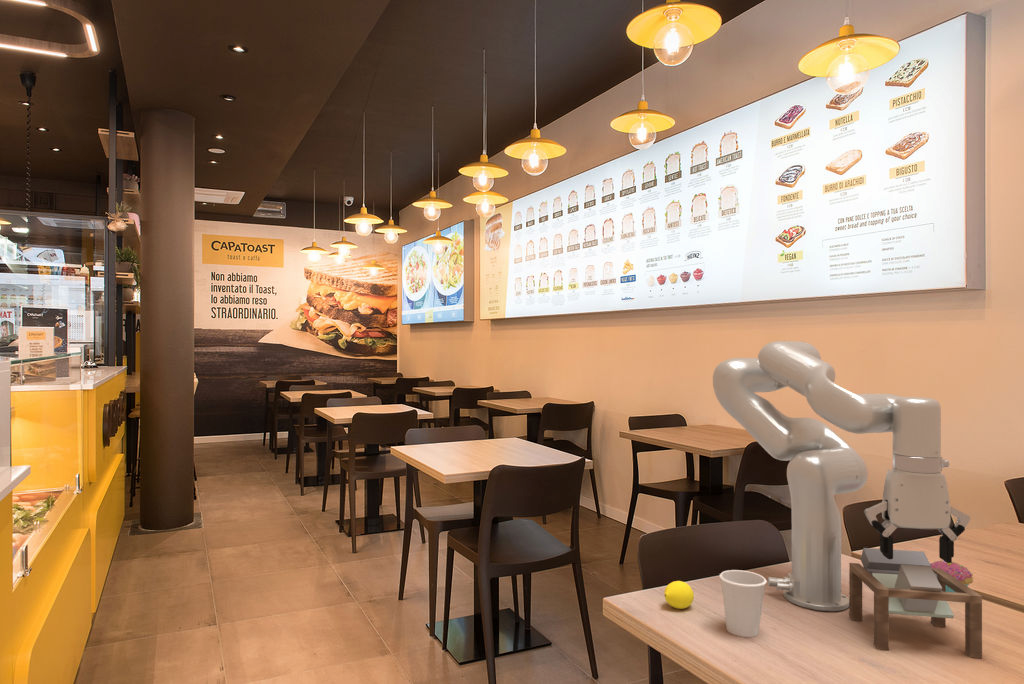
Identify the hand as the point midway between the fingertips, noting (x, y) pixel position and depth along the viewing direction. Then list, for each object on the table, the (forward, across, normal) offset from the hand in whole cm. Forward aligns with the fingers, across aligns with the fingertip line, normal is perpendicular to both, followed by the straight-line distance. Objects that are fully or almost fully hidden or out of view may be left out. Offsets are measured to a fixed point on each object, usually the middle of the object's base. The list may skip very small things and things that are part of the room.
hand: (916, 558), depth 118 cm
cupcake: (+15, -18, -27) cm, 36 cm away
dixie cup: (+15, +30, +2) cm, 34 cm away
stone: (+8, 0, -1) cm, 8 cm away
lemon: (+15, +42, -7) cm, 45 cm away
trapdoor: (+8, 0, -6) cm, 10 cm away
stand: (+15, 0, -2) cm, 15 cm away
